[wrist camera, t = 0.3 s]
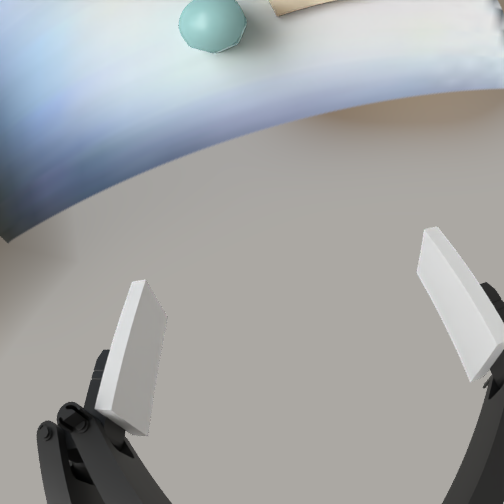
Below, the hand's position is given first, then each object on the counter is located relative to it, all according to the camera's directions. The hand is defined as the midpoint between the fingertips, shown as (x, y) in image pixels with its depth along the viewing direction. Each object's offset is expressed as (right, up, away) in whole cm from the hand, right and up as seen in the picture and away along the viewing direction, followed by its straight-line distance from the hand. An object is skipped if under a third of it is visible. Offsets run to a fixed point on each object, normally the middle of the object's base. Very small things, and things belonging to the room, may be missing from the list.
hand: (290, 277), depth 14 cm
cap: (-6, +26, +13) cm, 29 cm away
